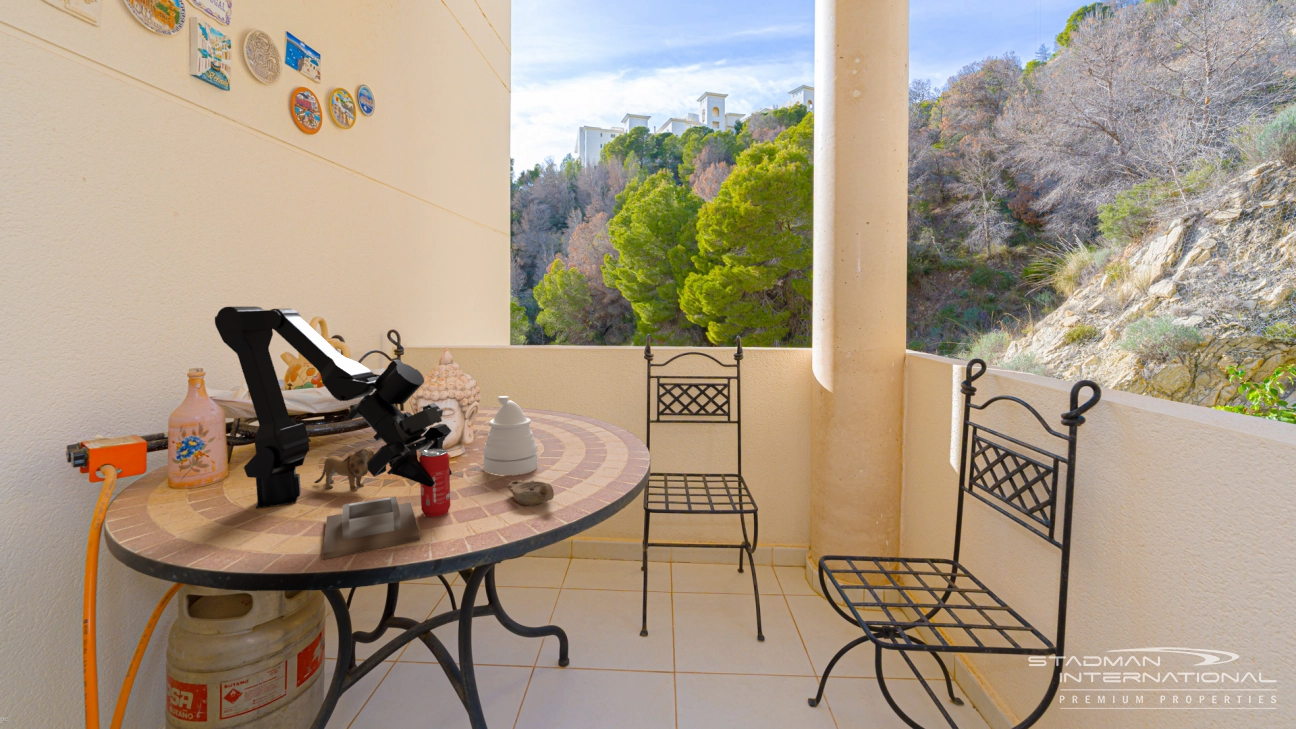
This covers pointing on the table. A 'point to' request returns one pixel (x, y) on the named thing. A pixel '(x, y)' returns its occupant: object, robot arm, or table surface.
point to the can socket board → (369, 527)
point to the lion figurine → (347, 468)
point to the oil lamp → (531, 492)
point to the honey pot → (510, 442)
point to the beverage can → (436, 483)
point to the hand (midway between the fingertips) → (441, 480)
